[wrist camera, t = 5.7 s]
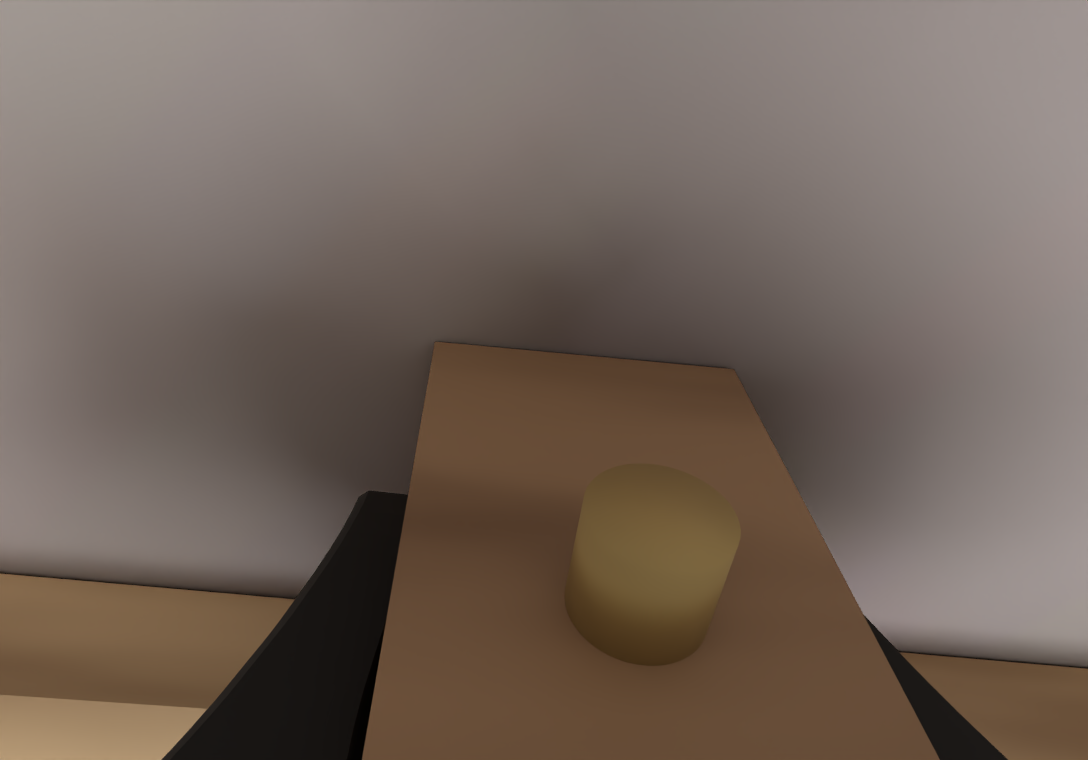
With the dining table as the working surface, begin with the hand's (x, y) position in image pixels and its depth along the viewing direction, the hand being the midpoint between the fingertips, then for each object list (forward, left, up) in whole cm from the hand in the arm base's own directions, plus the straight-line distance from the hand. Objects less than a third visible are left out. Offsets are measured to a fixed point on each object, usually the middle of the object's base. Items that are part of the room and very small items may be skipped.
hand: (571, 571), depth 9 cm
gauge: (-4, 0, -2) cm, 4 cm away
